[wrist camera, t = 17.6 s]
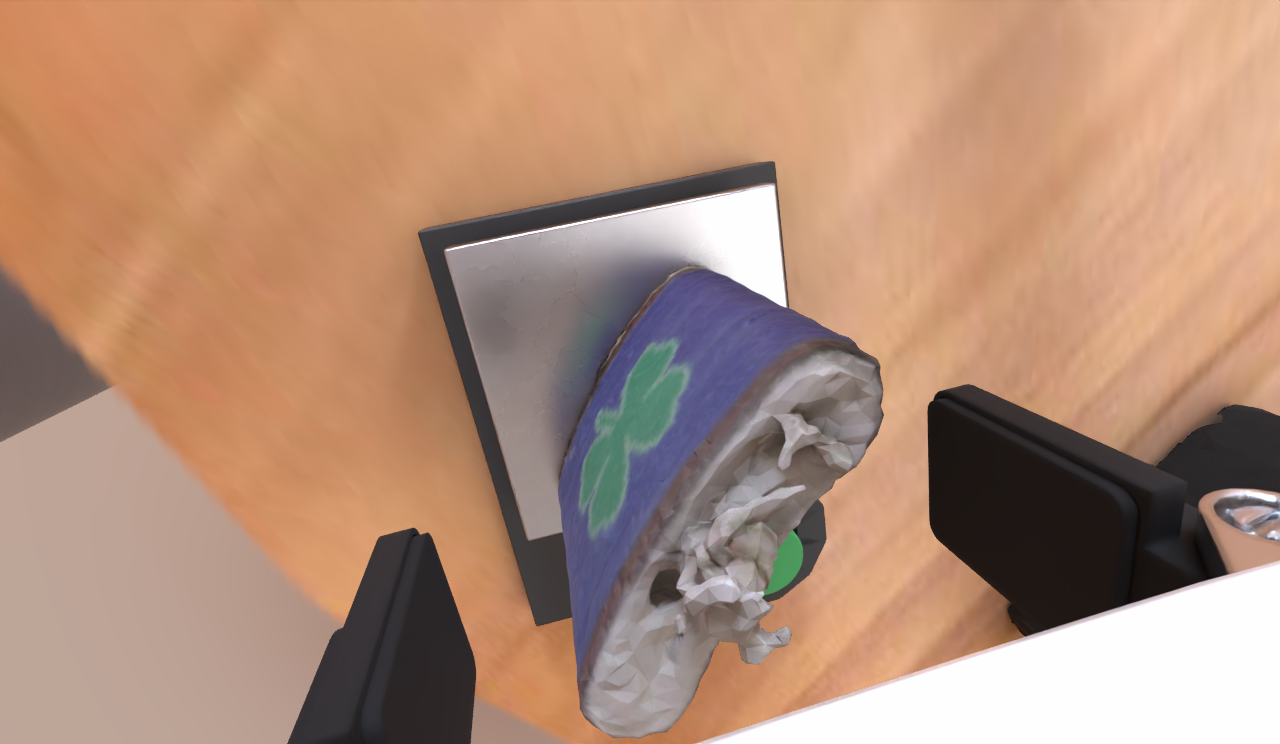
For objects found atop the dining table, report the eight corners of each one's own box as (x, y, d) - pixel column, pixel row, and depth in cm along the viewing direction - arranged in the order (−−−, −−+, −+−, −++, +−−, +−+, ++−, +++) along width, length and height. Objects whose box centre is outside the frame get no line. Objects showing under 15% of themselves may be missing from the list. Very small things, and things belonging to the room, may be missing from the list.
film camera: (1135, 696, 34) (1361, 890, 25) (976, 647, 31) (1169, 850, 22) (1341, 428, 31) (1698, 538, 21) (1186, 339, 27) (1530, 423, 18)
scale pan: (527, 529, 21) (527, 542, 20) (446, 245, 18) (442, 249, 17) (795, 461, 22) (804, 471, 21) (766, 181, 19) (776, 182, 18)
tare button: (718, 579, 23) (731, 606, 22) (708, 514, 22) (720, 538, 21) (790, 560, 24) (807, 584, 22) (783, 495, 23) (800, 516, 21)
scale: (538, 612, 26) (539, 666, 23) (424, 227, 20) (407, 236, 17) (800, 542, 27) (832, 584, 24) (760, 161, 21) (795, 159, 19)
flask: (608, 524, 21) (681, 854, 10) (530, 493, 20) (528, 820, 10) (748, 288, 19) (995, 412, 9) (669, 242, 18) (843, 322, 8)
